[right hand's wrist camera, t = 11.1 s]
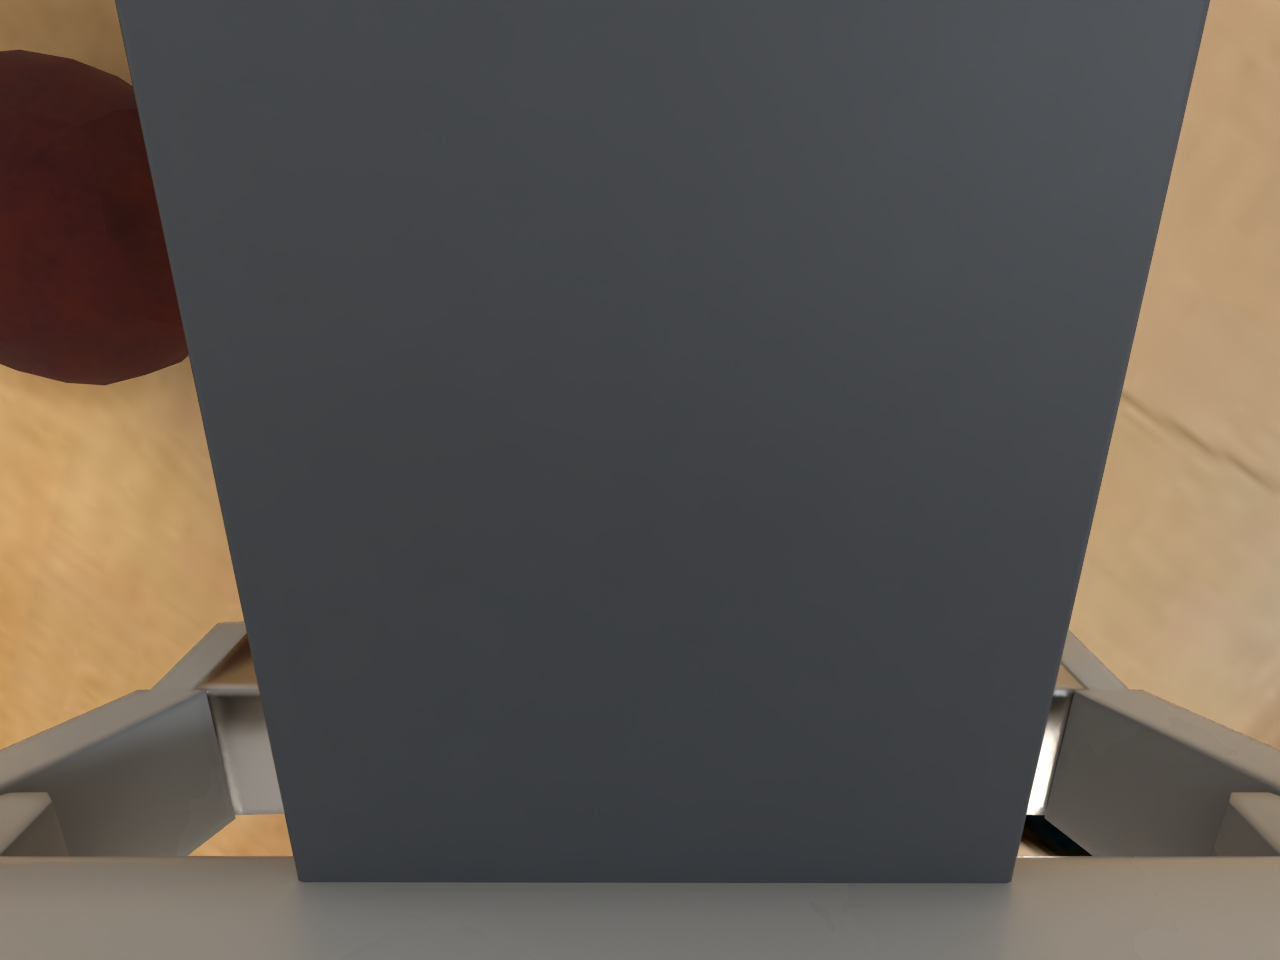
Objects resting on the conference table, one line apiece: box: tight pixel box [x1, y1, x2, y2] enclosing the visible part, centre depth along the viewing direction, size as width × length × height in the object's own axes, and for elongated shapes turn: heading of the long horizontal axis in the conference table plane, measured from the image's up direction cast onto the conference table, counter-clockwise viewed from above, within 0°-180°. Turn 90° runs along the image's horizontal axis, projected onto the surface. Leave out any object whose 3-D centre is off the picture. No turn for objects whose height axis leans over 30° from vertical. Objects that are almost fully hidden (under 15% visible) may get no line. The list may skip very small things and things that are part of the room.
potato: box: [0, 50, 189, 385], centre depth 18 cm, size 7×8×7 cm
